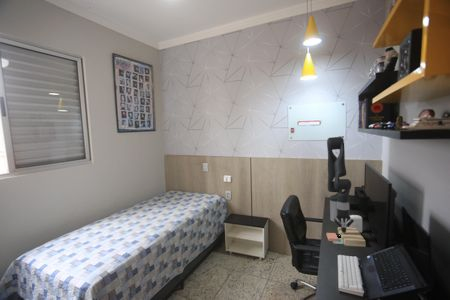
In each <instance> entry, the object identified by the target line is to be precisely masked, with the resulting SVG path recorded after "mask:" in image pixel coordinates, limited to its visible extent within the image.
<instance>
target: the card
mask: <svg viewBox="0 0 450 300" xmlns="http://www.w3.org/2000/svg"><path fill="white" fill-rule="evenodd" d="M336 234H337V233H336V232H326V237H327V240H328V241H329V242H333V241H334V242H339V239H338V237H337V235H336Z"/></svg>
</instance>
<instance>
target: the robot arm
mask: <svg viewBox="0 0 450 300" xmlns="http://www.w3.org/2000/svg"><path fill="white" fill-rule="evenodd" d="M344 140H345V139H344V138H343V137H342V136H334V137H328V138H327V140H326V146H327V190H328V192H330V193H335V194H333V195H332V194H331V195H330V197H329V208H330V209H329V213H330V215H329V216H330V221H332V222H334V223H335V224H336V225H337V226H338V227H341V231H342V232H343V233H345V232H346V228H347V227H349V226H350V225H351V224H352V223H353V222H354V220H353V219H351V218H350V202H349V201H350V200H349V199H350V192H351V189H352V181H351V180H350V179H348V178H343V177H346V176H347V168H346V157H345V156H346V155H345V153H346V152H345V141H344ZM333 150H335V151H336V150H339V153H338V156H336V155H335V154H334V152H333ZM348 221H349V222H348ZM347 222H348V223H347Z"/></svg>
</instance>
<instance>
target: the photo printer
mask: <svg viewBox="0 0 450 300" xmlns="http://www.w3.org/2000/svg"><path fill="white" fill-rule="evenodd" d="M350 218H351V219H353V220H354V222H353V223H352V224H351V225H350V226H349V227H346V228H356V229H357V230H358V232H359V233H362V232H363V217H362V216H360V215H356V214H351V215H350ZM348 222H349V221H348ZM348 222H347V223H348Z"/></svg>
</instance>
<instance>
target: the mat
mask: <svg viewBox="0 0 450 300" xmlns="http://www.w3.org/2000/svg"><path fill="white" fill-rule="evenodd" d="M338 239H339V242H334V241H332V243H333V244H338V245H339V244H340V245H344V243H343V241H342V239H341V238H338Z"/></svg>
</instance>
